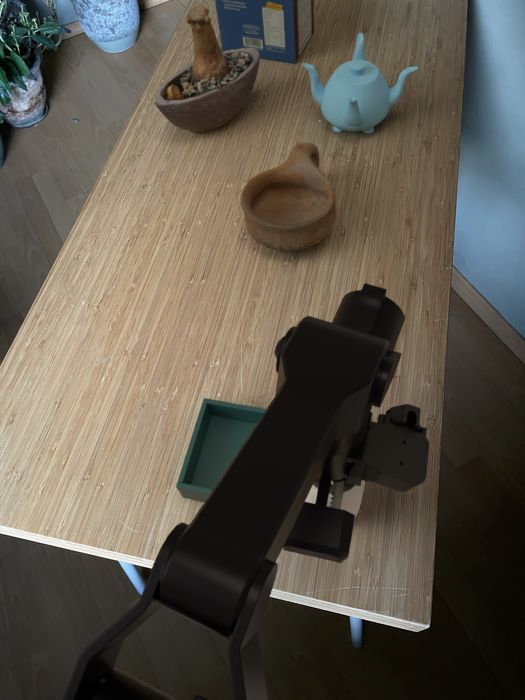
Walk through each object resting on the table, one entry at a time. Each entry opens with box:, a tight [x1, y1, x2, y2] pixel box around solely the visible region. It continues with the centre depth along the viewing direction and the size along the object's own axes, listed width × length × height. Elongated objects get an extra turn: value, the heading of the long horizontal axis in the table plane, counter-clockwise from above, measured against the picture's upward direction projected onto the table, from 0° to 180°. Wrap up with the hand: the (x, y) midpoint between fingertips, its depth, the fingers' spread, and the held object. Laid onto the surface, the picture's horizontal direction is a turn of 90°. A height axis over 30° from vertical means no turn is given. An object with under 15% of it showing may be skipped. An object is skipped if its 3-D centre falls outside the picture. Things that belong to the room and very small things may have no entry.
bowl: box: [239, 141, 338, 253], centre depth 86 cm, size 18×14×10 cm
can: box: [305, 477, 366, 518], centre depth 62 cm, size 6×6×12 cm
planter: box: [154, 3, 261, 134], centre depth 95 cm, size 15×17×20 cm
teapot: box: [301, 32, 419, 134], centre depth 96 cm, size 13×13×10 cm
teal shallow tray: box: [175, 397, 267, 503], centre depth 69 cm, size 11×11×4 cm
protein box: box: [214, 0, 315, 64], centre depth 107 cm, size 10×15×16 cm
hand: (329, 482), depth 63 cm, fingers open, 9 cm apart
